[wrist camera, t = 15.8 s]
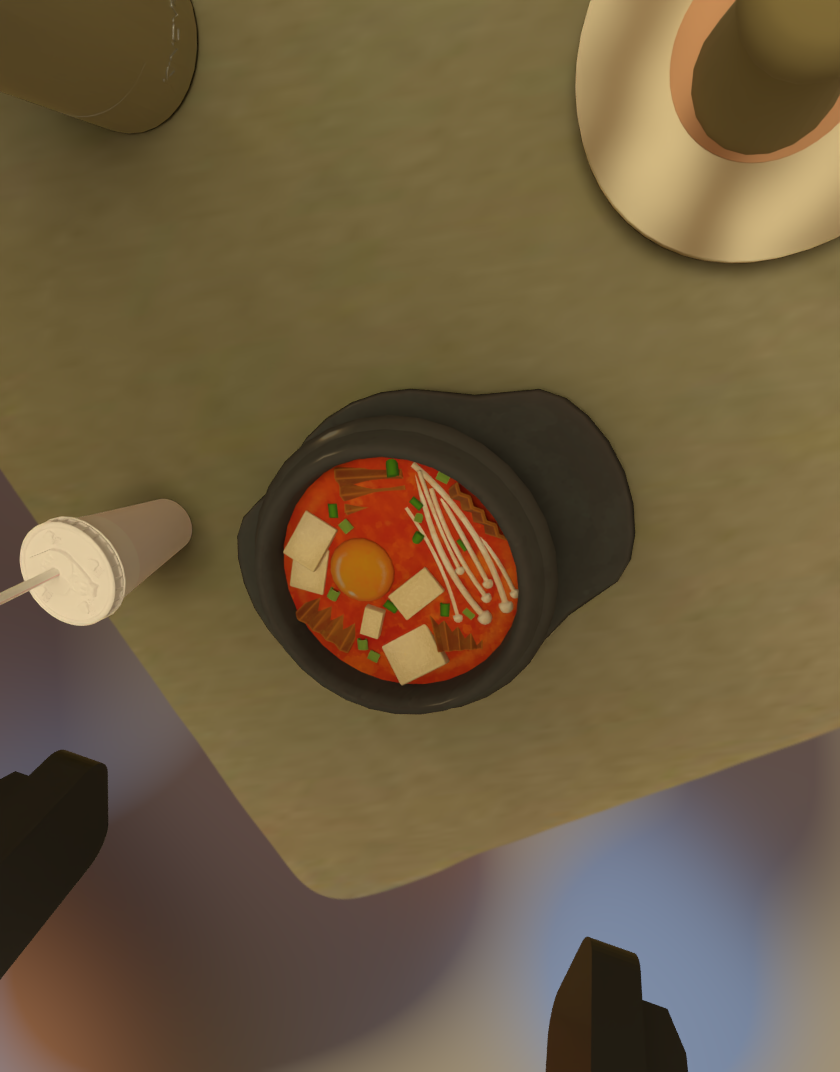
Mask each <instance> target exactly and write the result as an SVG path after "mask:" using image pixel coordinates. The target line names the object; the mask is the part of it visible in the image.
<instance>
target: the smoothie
mask: <svg viewBox="0 0 840 1072" xmlns="http://www.w3.org/2000/svg"><path fill="white" fill-rule="evenodd" d="M191 535H192V524H191V520H190V518H189V516H188V514H187V512H186V511H185V510H184V509H183V507H181V506H180V505H179V504H178V503H176V502H174V501H172V500H169V499H158V500H154V501H149V502H145V503H141V504H136V505H132V506H128V507H123V508H119V509H114V510H110V511H106V512H101V513H97V514H93V515H88V516H83V517H79V518H74V517H62V516H61V517H57V518H53V519H49V520H48V521H47V522H45V523H42V524H40V525H38V526H36V527H34V528H33V529H32V530H31V531H30V532H29V533H28V534H27V535H26V537H25V539H24V541H23V543H22V547H21V551H20V566H21V572H22V575H23V578H24V582H22V583H20V584H18V585H16V586H14V587H11V588H9V589H7V590H5V591H3V592H1V593H0V605H1V604H3V603H5V602H7V601H9V600H11V599H13V598H15V597H17V596H19V595H22V594H23V593H26V592H27V591H30V593H31V594H32V596H33V598H34V599H35V600H36V601H37V603H38V604H39V605H40V606H41V607H42V608H43V609H44V610H46V611H47V612H48V613H49V614H50V615H52V616H53V617H55V618H57V619H59V620H61V621H63V622H66V623H68V624H72V625H78V626H83V625H84V626H85V625H91V624H94V623H96V622H98V621H100V620H102V619H105V618H107V617H108V616H110V615H112V614H114V612H115V611H116V610H117V609H118V608H119V606H120V605H121V603H122V601H123V598H124V597H125V596H126V595H128V594H129V593H130V592H131V591H132V590H133V589H134V588H136V587H137V586H138V585H139V584H140V583H142V582H143V581H144V580H145V579H146V578H148V577H149V576H150V575H151V574H152V573H153V572H155V571H156V570H157V569H158V568H159V567H161V566H162V565H163V564H164V563H165V562H166V561H168V560H169V559H170V558H171V557H172V556H174V555H175V554H176V553H177V552H178V551H180V550H181V549H182V548H183V547H184V546H185V545H187V543H188V542H189V541H190V538H191Z"/></svg>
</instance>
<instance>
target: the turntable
mask: <svg viewBox="0 0 840 1072" xmlns="http://www.w3.org/2000/svg"><path fill="white" fill-rule="evenodd" d="M735 1H736V0H591V2H590V4H589V7H588V11H587V14H586V18H585V22H584V25H583V29H582V33H581V38H580V44H579V50H578V57H577V66H576V86H575V90H576V105H577V116H578V122H579V127H580V132H581V137H582V142H583V147H584V150H585V153H586V156H587V159H588V162H589V165H590V168H591V170H592V172H593V174H594V176H595V179H596V181H597V183H598V185H599V187H600V189H601V190H602V192H603V193H604V195H605V196H606V198H607V199H608V201H609V202H610V203H611V205H612V206H613V208H614V209H615V210H616V211H617V212H618V213H619V214H620V215H621V216H622V217H623V219H624V220H625V221H626V222H627V223H628V224H630V225H631V226H632V227H633V228H634V229H636V230H637V231H638V232H639V233H641V234H642V235H643V236H644V237H646V238H648V239H650V240H651V241H653V242H655V243H656V244H658V245H660V246H661V247H663V248H666V249H668V250H671V251H673V252H676V253H678V254H681V255H683V256H687V257H691V258H695V259H699V260H703V261H712V262H721V263H749V262H757V261H763V260H770V259H776V258H779V257H783V256H787V255H790V254H794V253H797V252H801V251H804V250H808V249H811V248H813V247H815V246H818V245H820V244H823V243H825V242H828V241H830V240H833V239H835V238H837V237H839V236H840V96H839V97H838V99H837V101H836V103H835V105H834V106H833V108H832V109H831V110H830V111H829V112H828V114H827V115H826V116H825V117H824V119H823V120H822V121H821V122H820V123H819V125H818V126H817V127H816V128H815V129H814V130H813V131H811V132H810V133H808V134H807V135H806V136H804V137H803V138H802V139H800V140H799V141H798V142H796V143H795V144H793V145H791V146H788V147H785V148H783V149H780V150H778V151H775V152H772V153H770V154H755V155H744V154H740V153H737V152H733V151H730V150H726V149H724V148H722V147H721V146H720V145H719V144H717V143H716V142H715V141H713V140H712V139H711V138H709V137H708V136H707V135H706V133H705V131H704V130H703V128H702V126H701V125H700V123H699V121H698V120H697V118H696V116H695V111H694V106H693V101H692V96H691V89H692V79H693V68H694V66H695V63H696V61H697V58H698V55H699V53H700V50H701V48H702V45H703V43H704V41H705V40H706V38H707V37H708V36H709V34H710V33H711V31H712V30H713V29H714V27H715V26H716V24H717V23H718V22H719V20H720V19H721V18H722V17H723V15H724V14H725V13H726V12H727V10H728V9H729V8H730V7H731V5H732V4H733V3H734V2H735Z"/></svg>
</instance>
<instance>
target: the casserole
mask: <svg viewBox="0 0 840 1072" xmlns="http://www.w3.org/2000/svg"><path fill="white" fill-rule="evenodd" d="M634 537H635V524H634V508H633V501H632V497H631V493H630V490H629V486H628V482H627V479H626V475H625V471H624V469H623V468H622V466H621V464H620V462H619V460H618V458H617V456H616V454H615V452H614V450H613V448H612V446H611V444H610V443H609V441H608V440H607V438H606V437H605V436H604V435H603V433H602V432H601V431H600V430H599V428H598V427H597V426H596V425H595V423H594V422H593V421H592V420H591V418H590V417H589V416H588V415H587V414H585V413H584V412H583V411H582V410H580V409H579V408H578V407H577V406H575V405H574V404H573V403H572V402H570V401H569V400H568V399H567V398H565V397H562V396H559V395H556V394H553V393H550V392H547V391H544V390H541V389H535V390H524V391H513V392H502V393H491V394H480V395H471V394H461V393H451V392H441V391H430V390H419V389H405V390H397V391H389V392H381V393H378V394H375V395H372V396H369V397H366V398H363V399H360V400H358V401H355V402H352V403H350V404H349V405H347V406H345V407H344V408H342V409H341V410H339V411H337V412H336V413H334V414H332V415H331V416H329V417H328V418H326V419H325V420H324V421H323V422H322V423H321V424H320V425H319V426H318V427H317V428H316V429H315V430H314V431H313V432H312V433H311V434H310V435H309V436H308V437H307V438H306V439H305V441H304V443H303V444H302V446H301V447H300V448H299V449H298V450H297V451H296V452H295V453H294V454H293V455H292V456H291V457H290V458H289V459H288V460H287V461H285V462H284V464H283V465H282V467H281V468H280V470H279V471H278V473H277V475H276V476H275V478H274V479H273V481H272V482H271V484H270V485H269V487H268V490H267V493H266V494H265V495H264V496H263V497H262V498H261V499H260V500H259V501H258V502H257V503H256V504H255V505H254V506H253V508H252V509H251V510H250V511H249V512H248V513H247V514H246V515H245V516H244V517H243V521H242V524H241V527H240V530H239V533H238V536H237V539H238V560H239V564H240V568H241V572H242V576H243V581H244V584H245V586H246V589H247V591H248V594H249V596H250V598H251V601H252V603H253V606H254V608H255V609H256V611H257V613H258V614H259V616H260V617H261V619H262V620H263V622H264V624H265V625H266V627H267V628H268V630H269V631H270V632H271V634H272V635H273V636H274V637H275V638H276V639H277V640H278V642H279V643H280V644H281V645H282V646H283V648H284V649H285V650H286V652H287V653H288V654H289V655H290V656H291V657H292V658H293V660H294V661H295V662H296V663H297V664H298V665H299V666H300V667H301V669H302V670H304V671H305V672H306V673H307V674H308V675H310V676H311V677H312V678H313V679H315V680H316V681H317V682H318V683H319V684H321V685H322V686H323V687H325V688H327V689H328V690H330V691H332V692H334V693H335V694H337V695H339V696H340V697H342V698H344V699H346V700H348V701H351V702H353V703H356V704H359V705H361V706H364V707H367V708H369V709H374V710H379V711H384V712H389V713H394V714H426V713H432V712H438V711H444V710H448V709H450V708H456V707H462V706H464V705H467V704H470V703H472V702H475V701H478V700H480V699H483V698H485V697H488V696H489V695H491V694H492V693H494V692H496V691H497V690H499V689H500V688H502V687H503V686H505V685H507V684H508V683H510V682H511V681H512V680H513V679H514V678H515V677H516V676H517V675H518V674H519V673H520V672H521V671H522V670H523V669H524V668H525V667H526V666H527V665H528V664H529V663H530V662H531V660H532V658H533V657H534V655H535V654H536V652H537V651H538V649H539V648H540V646H541V644H542V643H543V641H544V640H545V639H546V638H547V637H548V636H549V635H550V634H551V633H552V632H553V631H554V630H555V629H556V628H557V627H558V626H559V625H560V624H561V623H562V622H563V621H564V620H565V619H566V617H567V616H568V615H570V614H571V613H573V612H574V611H575V610H577V609H578V608H580V607H581V606H583V605H584V604H586V603H587V602H588V601H590V600H591V599H593V598H594V597H596V596H597V595H598V594H600V593H601V592H603V591H604V590H606V589H607V588H609V587H610V586H611V585H613V584H614V583H616V582H617V581H618V580H619V578H620V577H621V575H622V573H623V572H624V570H625V568H626V567H627V565H628V563H629V562H630V560H631V555H632V549H633V543H634Z"/></svg>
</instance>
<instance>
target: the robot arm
mask: <svg viewBox="0 0 840 1072" xmlns="http://www.w3.org/2000/svg"><path fill="white" fill-rule="evenodd" d="M196 54H197V30H196V23H195V17H194V12H193V7H192V4H191V1H190V0H0V92H2V93H5V94H8V95H11V96H14V97H17V98H20V99H23V100H26V101H28V102H31V103H34V104H37V105H40V106H43V107H46V108H49V109H52V110H55V111H57V112H60V113H62V114H65V115H68V116H71V117H74V118H77V119H80V120H82V121H85V122H88V123H91V124H94V125H97V126H100V127H103V128H106V129H109V130H112V131H116V132H121V133H127V134H131V133H141V132H145V131H147V130H150V129H152V128H155V127H157V126H158V125H160V124H161V123H162V122H164V121H165V120H167V119H168V118H169V117H170V116H171V115H172V114H173V112H174V111H175V110H176V109H177V108H178V106H179V105H180V104H181V102H182V100H183V98H184V96H185V94H186V92H187V90H188V89H189V86H190V82H191V79H192V76H193V73H194V69H195V61H196ZM107 830H108V771H107V767H106V765H105V764H103V763H100V762H97V761H95V760H92V759H89V758H86V757H83V756H81V755H78V754H75V753H72V752H69V751H66V750H59V751H56V752H54V753H53V754H52V755H50V756H49V757H48V758H47V759H46V760H45V761H44V762H43V763H42V764H41V765H40V766H39V767H38V768H37V769H35V770H34V771H33V772H32V774H30V775H29V776H27V775H24V774H22V773H19V772H16V771H15V772H13V773H11V774H9V775H7V776H5V777H3V778H2V779H0V979H1V978H2V977H3V975H4V974H5V973H6V971H7V970H8V969H9V968H10V967H11V965H12V964H13V963H14V962H15V960H16V959H17V958H18V956H19V955H20V954H21V953H22V951H23V950H24V949H25V947H26V946H27V945H28V944H29V943H30V941H31V940H32V939H33V938H34V936H35V935H36V934H37V933H38V931H39V930H40V929H41V927H42V926H43V925H44V924H45V922H46V921H47V920H48V919H49V917H50V916H51V915H52V913H53V912H54V911H55V910H56V909H57V907H58V906H59V905H60V904H61V902H62V901H63V900H64V898H65V897H66V896H67V895H68V893H69V892H70V891H71V890H72V888H73V887H74V886H75V885H76V883H77V882H78V881H79V880H80V878H81V877H82V876H83V875H84V873H85V872H86V871H87V869H88V868H89V867H90V866H91V864H92V863H93V861H94V860H95V858H96V857H97V855H98V853H99V851H100V849H101V847H102V845H103V843H104V840H105V837H106V834H107ZM641 988H642V987H641V971H640V963H639V959H638V957H637V955H636V954H635V953H632V952H630V951H626V950H624V949H621V948H618V947H615V946H613V945H610V944H607V943H604V942H601V941H598V940H596V939H593V938H590V937H586V938H585V939H584V940H583V941H582V943H581V945H580V947H579V949H578V952H577V953H576V955H575V957H574V959H573V961H572V964H571V966H570V968H569V970H568V972H567V974H566V976H565V978H564V980H563V982H562V984H561V986H560V988H559V990H558V992H557V995H556V997H555V1001H554V1005H553V1008H552V1013H551V1018H550V1024H549V1031H548V1043H547V1060H546V1072H688V1067H687V1058H686V1052H685V1050H684V1047H683V1045H682V1043H681V1040H680V1038H679V1035H678V1033H677V1031H676V1028H675V1026H674V1024H673V1022H672V1019H671V1017H670V1014H669V1012H668V1009H666V1008H663V1007H660V1006H658V1005H655V1004H652V1003H649V1002H647V1001H644V1000H642V989H641Z"/></svg>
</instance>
